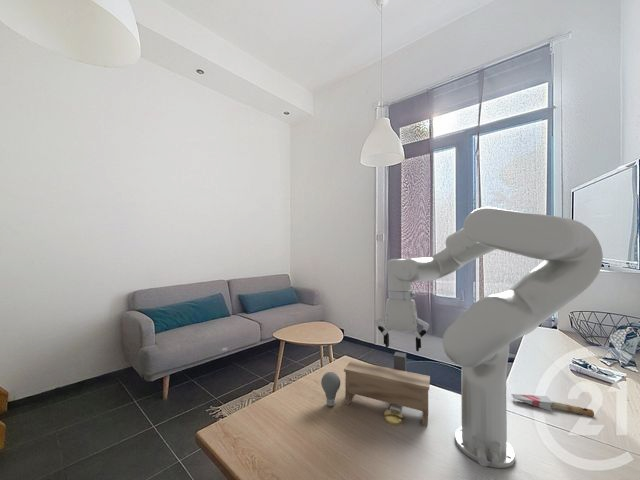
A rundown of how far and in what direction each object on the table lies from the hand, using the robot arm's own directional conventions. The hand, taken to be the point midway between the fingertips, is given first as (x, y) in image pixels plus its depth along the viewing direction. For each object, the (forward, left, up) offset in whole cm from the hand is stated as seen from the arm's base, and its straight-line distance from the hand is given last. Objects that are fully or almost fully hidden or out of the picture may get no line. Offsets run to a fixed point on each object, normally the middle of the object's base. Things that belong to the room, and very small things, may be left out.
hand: (402, 348), depth 86 cm
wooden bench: (-7, +4, -16) cm, 18 cm away
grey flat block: (-3, +1, -16) cm, 17 cm away
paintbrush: (+15, -43, -17) cm, 48 cm away
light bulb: (-13, +20, -17) cm, 29 cm away
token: (-12, +1, -17) cm, 21 cm away
